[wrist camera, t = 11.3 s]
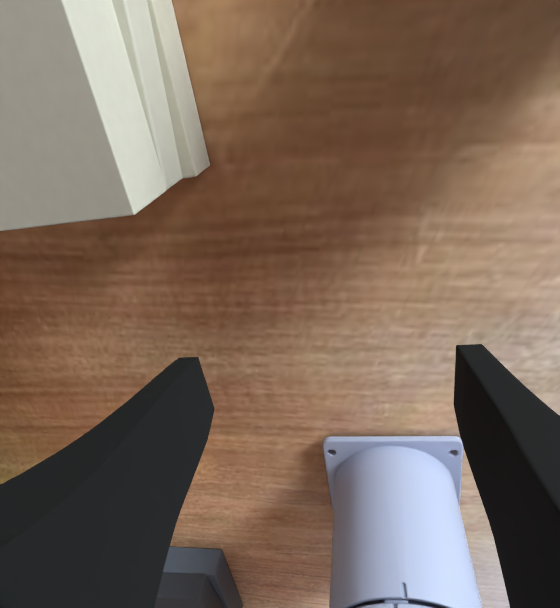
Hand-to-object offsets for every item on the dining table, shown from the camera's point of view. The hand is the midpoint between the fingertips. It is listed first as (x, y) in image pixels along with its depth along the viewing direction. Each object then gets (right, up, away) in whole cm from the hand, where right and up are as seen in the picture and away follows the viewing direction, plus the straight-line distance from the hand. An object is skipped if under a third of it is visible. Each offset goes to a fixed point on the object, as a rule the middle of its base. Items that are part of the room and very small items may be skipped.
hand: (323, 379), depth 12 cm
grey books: (-9, -21, +25) cm, 34 cm away
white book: (-9, +10, +2) cm, 13 cm away
